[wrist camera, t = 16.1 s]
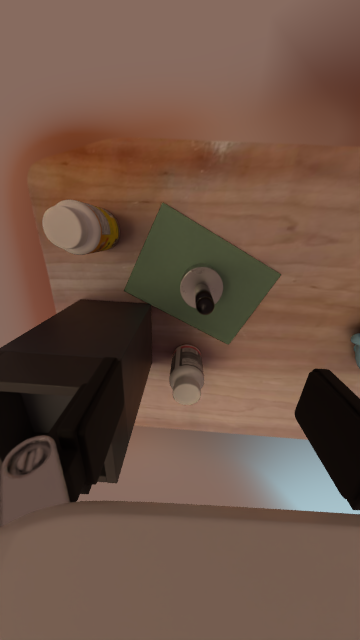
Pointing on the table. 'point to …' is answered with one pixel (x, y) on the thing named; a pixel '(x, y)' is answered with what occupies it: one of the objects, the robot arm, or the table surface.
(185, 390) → the pill bottle
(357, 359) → the teapot
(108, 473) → the black box
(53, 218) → the supplement bottle
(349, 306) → the table surface
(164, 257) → the green mat
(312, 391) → the robot arm
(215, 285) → the meat pounder
